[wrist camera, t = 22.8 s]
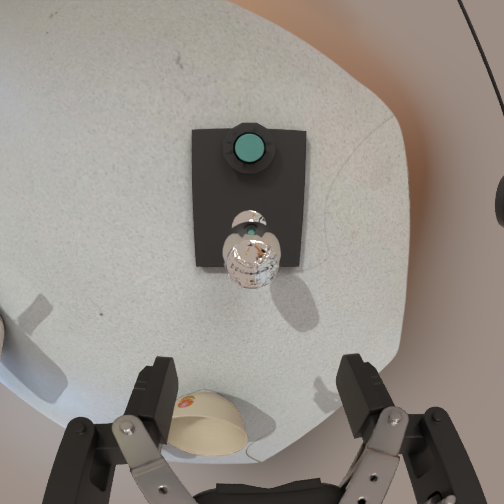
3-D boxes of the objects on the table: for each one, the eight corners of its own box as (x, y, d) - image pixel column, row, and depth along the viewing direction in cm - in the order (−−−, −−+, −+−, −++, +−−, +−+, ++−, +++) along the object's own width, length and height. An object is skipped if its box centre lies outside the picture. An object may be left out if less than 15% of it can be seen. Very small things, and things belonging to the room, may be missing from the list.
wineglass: (259, 255, 36) (266, 302, 25) (219, 237, 35) (208, 279, 24) (279, 217, 34) (297, 250, 23) (238, 197, 33) (236, 221, 22)
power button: (235, 134, 30) (235, 133, 28) (263, 135, 30) (264, 134, 28) (235, 161, 31) (235, 161, 29) (262, 161, 31) (264, 162, 29)
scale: (193, 126, 31) (189, 124, 28) (304, 127, 32) (309, 125, 29) (197, 262, 38) (194, 271, 35) (297, 262, 38) (301, 271, 36)
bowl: (175, 416, 51) (169, 452, 42) (161, 370, 45) (149, 410, 36) (246, 420, 52) (247, 457, 42) (247, 374, 46) (248, 417, 37)
